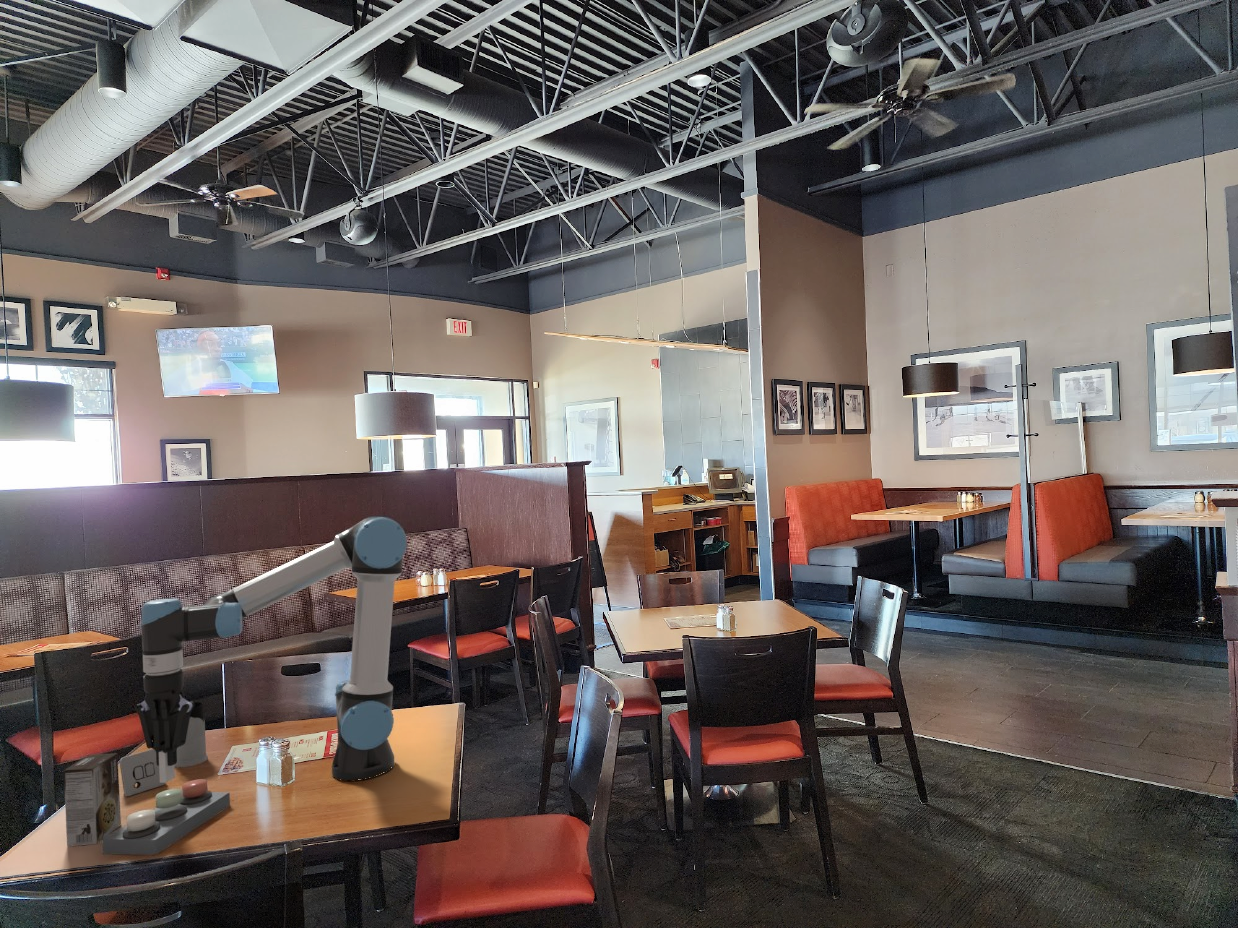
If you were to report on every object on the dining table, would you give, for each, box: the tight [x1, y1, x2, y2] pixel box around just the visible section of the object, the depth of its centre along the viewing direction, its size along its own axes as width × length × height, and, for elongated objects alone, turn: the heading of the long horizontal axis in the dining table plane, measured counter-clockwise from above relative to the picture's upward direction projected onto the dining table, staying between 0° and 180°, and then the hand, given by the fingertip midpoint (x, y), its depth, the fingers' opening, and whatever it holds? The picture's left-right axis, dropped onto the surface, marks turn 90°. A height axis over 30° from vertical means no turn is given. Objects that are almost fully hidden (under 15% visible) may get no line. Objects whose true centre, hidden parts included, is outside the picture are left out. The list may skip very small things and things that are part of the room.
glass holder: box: [174, 701, 209, 769], centre depth 210 cm, size 9×14×15 cm, turn 39°
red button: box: [181, 778, 209, 798], centre depth 174 cm, size 5×5×2 cm
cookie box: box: [63, 752, 122, 847], centre depth 164 cm, size 9×6×16 cm
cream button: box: [126, 809, 155, 831], centre depth 158 cm, size 5×5×2 cm
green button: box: [155, 788, 183, 809], centre depth 166 cm, size 5×5×2 cm
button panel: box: [101, 790, 231, 856], centre depth 166 cm, size 12×23×4 cm, turn 172°
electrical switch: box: [119, 748, 168, 797], centre depth 190 cm, size 9×5×9 cm, turn 141°
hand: (167, 779), depth 166 cm, fingers closed
